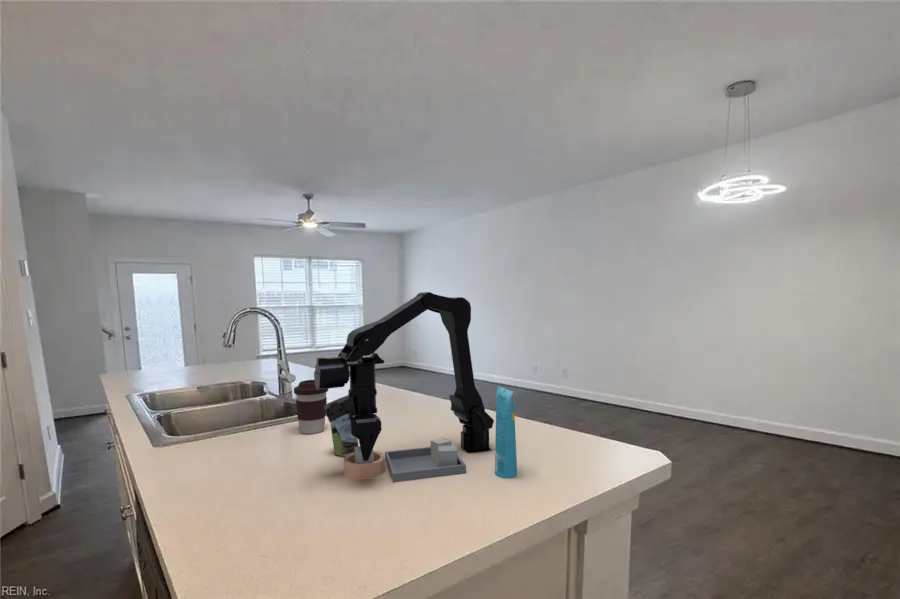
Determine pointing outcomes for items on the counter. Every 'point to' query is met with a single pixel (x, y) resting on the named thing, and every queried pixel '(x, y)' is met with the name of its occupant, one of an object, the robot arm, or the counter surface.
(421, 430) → the counter surface
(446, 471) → the tray
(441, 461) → the stone
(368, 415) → the robot arm
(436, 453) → the stone
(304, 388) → the coffee cup
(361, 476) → the bowl
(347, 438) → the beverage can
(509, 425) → the tube
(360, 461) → the stone
